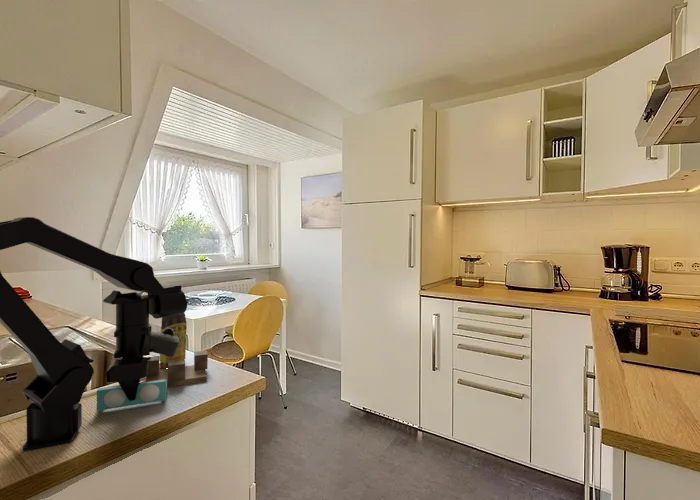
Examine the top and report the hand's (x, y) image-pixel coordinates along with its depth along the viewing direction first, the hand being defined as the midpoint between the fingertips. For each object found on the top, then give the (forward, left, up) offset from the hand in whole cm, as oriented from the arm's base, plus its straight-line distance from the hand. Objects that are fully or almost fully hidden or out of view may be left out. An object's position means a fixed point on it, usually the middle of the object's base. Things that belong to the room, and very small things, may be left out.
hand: (132, 398), depth 72 cm
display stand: (+8, +13, -2) cm, 15 cm away
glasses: (0, +3, -1) cm, 3 cm away
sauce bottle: (+7, +22, -2) cm, 23 cm away
